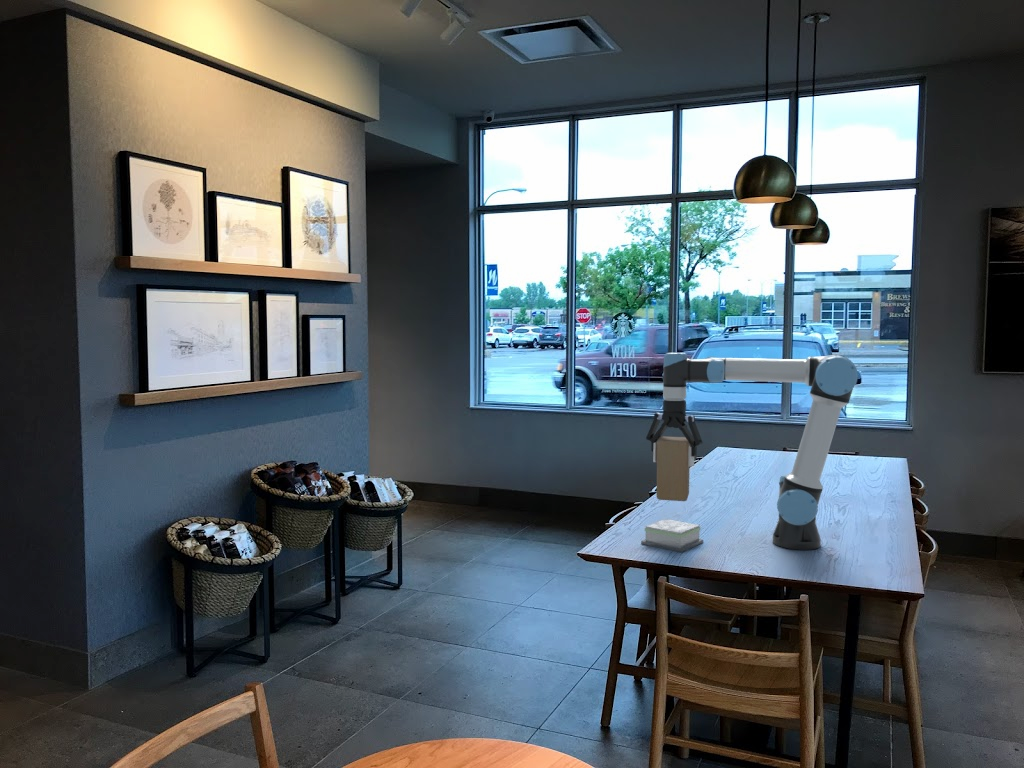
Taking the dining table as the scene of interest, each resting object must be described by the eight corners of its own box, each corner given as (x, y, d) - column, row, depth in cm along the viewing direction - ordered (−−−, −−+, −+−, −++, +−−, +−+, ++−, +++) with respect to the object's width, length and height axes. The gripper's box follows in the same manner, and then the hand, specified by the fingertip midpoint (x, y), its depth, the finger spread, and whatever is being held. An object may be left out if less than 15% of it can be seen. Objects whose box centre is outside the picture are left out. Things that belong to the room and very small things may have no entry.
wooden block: (689, 495, 270) (690, 437, 269) (687, 502, 261) (688, 441, 259) (659, 494, 273) (660, 435, 272) (656, 500, 264) (657, 440, 262)
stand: (703, 542, 269) (703, 525, 268) (681, 552, 258) (682, 534, 257) (663, 535, 279) (664, 518, 278) (641, 544, 267) (641, 526, 267)
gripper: (713, 400, 259) (712, 466, 261) (648, 396, 275) (647, 458, 277) (703, 402, 254) (701, 469, 255) (636, 397, 269) (635, 461, 271)
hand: (673, 463), depth 266 cm, fingers closed on wooden block, 12 cm apart
